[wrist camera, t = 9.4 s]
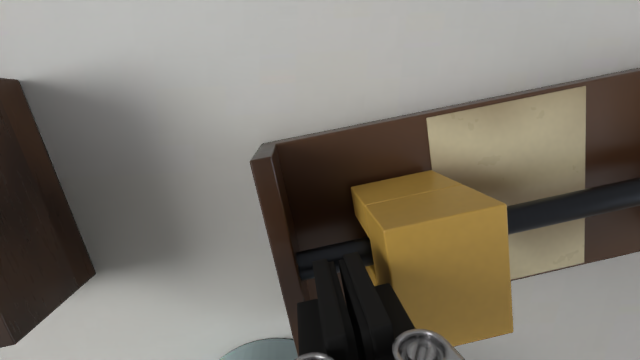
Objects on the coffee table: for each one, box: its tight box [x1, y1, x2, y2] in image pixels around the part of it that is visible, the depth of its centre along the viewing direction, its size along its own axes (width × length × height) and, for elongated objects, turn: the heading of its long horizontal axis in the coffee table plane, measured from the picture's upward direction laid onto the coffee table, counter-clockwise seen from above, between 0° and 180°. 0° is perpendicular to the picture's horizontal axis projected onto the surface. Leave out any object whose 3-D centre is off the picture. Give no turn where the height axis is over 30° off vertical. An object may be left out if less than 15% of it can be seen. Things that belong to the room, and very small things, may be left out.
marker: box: [351, 170, 513, 347], centre depth 13 cm, size 5×4×6 cm
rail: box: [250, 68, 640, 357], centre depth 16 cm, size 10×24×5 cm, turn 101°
